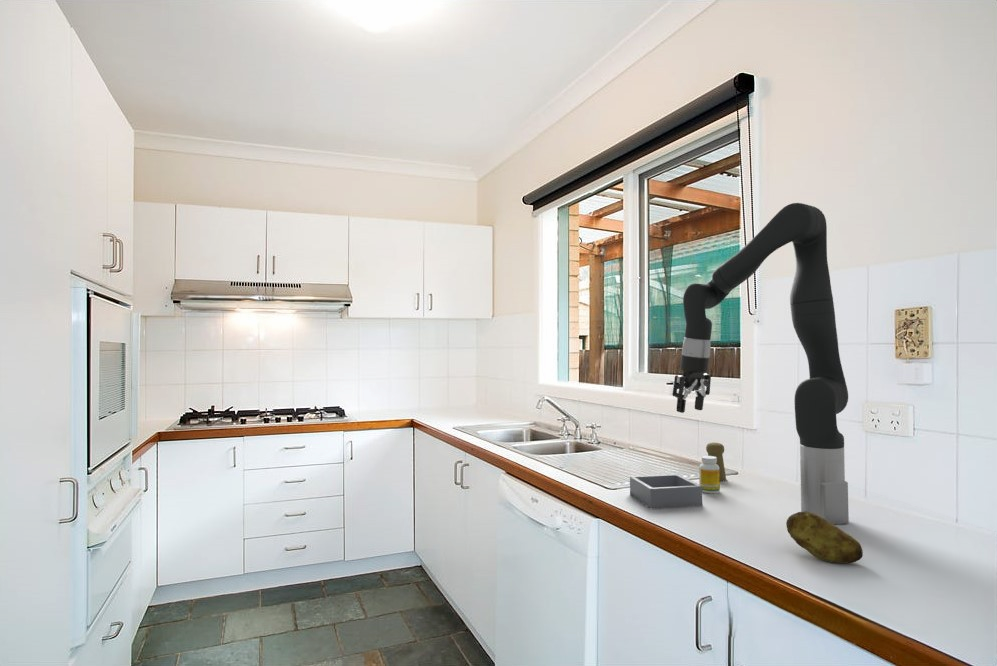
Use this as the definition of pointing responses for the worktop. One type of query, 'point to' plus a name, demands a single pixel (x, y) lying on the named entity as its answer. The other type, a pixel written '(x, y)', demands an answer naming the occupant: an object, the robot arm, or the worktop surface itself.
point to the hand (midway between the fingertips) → (689, 410)
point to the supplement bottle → (709, 475)
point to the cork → (717, 451)
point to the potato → (823, 538)
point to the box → (666, 491)
